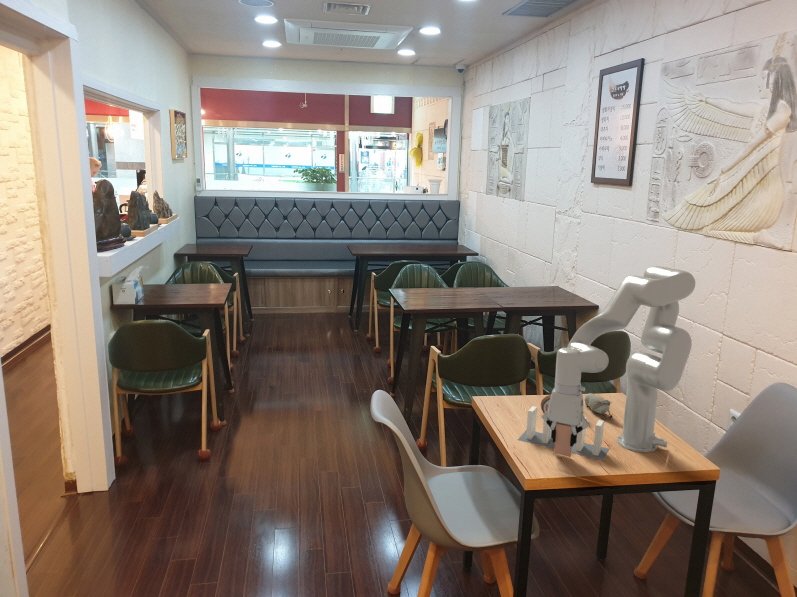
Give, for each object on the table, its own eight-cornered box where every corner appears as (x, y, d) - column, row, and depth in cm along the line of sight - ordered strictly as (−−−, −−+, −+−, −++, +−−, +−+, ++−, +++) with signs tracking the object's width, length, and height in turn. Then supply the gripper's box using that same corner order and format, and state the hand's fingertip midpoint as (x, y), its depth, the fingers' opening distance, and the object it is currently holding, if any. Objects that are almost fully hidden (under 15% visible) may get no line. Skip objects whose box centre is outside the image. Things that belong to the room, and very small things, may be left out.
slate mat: (609, 449, 196) (609, 448, 196) (603, 461, 188) (603, 460, 188) (526, 430, 210) (526, 429, 210) (517, 440, 201) (517, 439, 201)
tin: (580, 417, 223) (582, 396, 222) (582, 420, 220) (584, 399, 219) (539, 414, 225) (541, 393, 223) (540, 418, 222) (542, 396, 220)
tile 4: (584, 445, 198) (586, 417, 196) (580, 451, 193) (583, 422, 191) (579, 444, 198) (581, 416, 197) (575, 450, 194) (578, 421, 192)
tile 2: (551, 438, 203) (553, 410, 201) (546, 443, 199) (549, 415, 197) (546, 437, 204) (548, 409, 202) (542, 442, 199) (544, 414, 198)
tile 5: (601, 449, 195) (604, 420, 193) (597, 455, 191) (600, 426, 189) (596, 448, 196) (598, 419, 194) (592, 454, 191) (595, 425, 190)
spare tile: (555, 451, 191) (557, 421, 189) (571, 454, 189) (573, 425, 187) (554, 453, 190) (556, 423, 188) (570, 456, 187) (572, 426, 185)
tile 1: (535, 434, 206) (537, 407, 204) (530, 439, 201) (532, 411, 199) (530, 433, 206) (532, 406, 204) (526, 438, 202) (528, 410, 200)
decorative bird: (592, 405, 237) (594, 387, 235) (615, 420, 221) (617, 401, 220) (579, 405, 236) (581, 387, 234) (601, 421, 220) (603, 402, 219)
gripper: (598, 389, 184) (593, 444, 187) (543, 379, 192) (540, 432, 196) (592, 396, 177) (588, 453, 181) (536, 386, 186) (533, 441, 189)
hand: (563, 442), depth 188 cm, fingers closed on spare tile, 4 cm apart
